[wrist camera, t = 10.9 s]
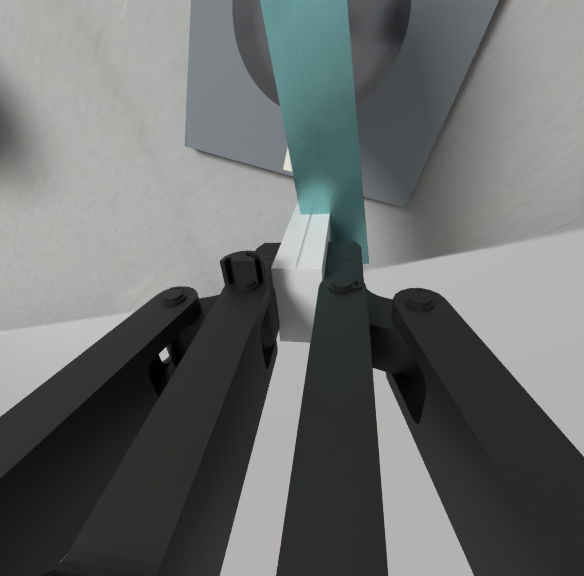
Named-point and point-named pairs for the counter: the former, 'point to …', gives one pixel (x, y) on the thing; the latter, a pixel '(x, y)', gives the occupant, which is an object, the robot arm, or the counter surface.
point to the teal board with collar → (322, 90)
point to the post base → (370, 112)
